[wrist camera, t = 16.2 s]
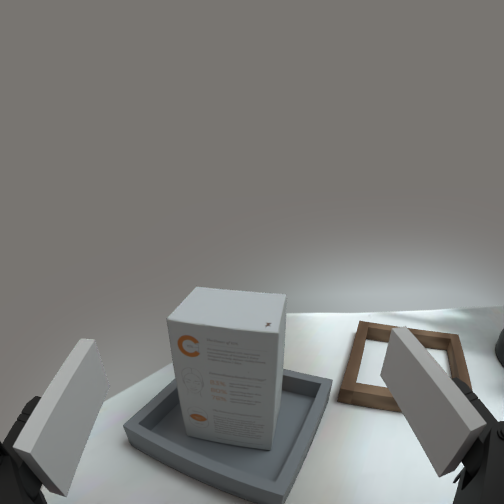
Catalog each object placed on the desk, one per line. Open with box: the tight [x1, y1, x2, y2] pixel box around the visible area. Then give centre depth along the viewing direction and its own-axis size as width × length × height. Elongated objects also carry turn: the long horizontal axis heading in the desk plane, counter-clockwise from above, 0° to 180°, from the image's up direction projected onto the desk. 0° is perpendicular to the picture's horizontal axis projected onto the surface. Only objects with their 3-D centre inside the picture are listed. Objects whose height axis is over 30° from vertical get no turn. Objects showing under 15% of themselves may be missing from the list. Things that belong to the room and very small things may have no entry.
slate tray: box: [123, 369, 333, 504], centre depth 27 cm, size 15×15×3 cm
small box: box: [167, 287, 287, 450], centre depth 25 cm, size 8×6×13 cm
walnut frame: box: [337, 321, 472, 412], centre depth 34 cm, size 16×16×2 cm
